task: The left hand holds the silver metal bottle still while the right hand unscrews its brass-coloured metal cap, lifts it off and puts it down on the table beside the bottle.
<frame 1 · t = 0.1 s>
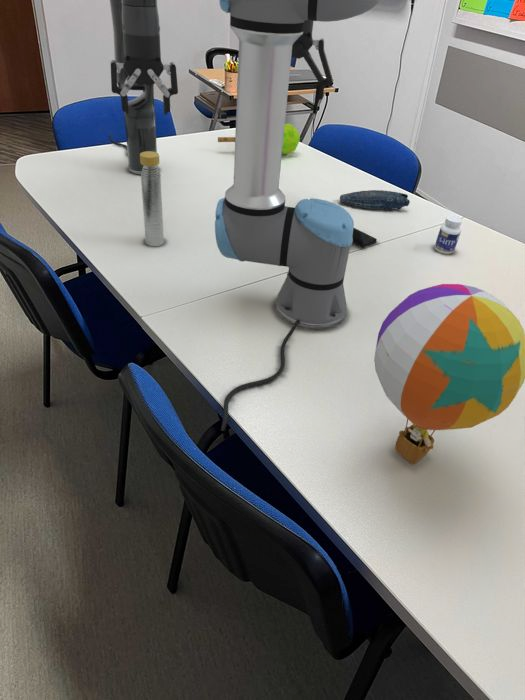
left hand: (146, 113, 118), 29 cm above the table, tool pointing down, fingers open, 8 cm apart
right hand: (288, 109, 135), 28 cm above the table, tool pointing down, fingers open, 13 cm apart
cap: (149, 155, 118), point 22 cm above the table, screwed on, not yet turned
bottle: (154, 242, 132), on the table
handheld gaming console: (350, 239, 141), on the table
decorative tree: (258, 154, 190), on the table
toy: (409, 454, 83), on the table
pill bottle: (443, 250, 140), on the table
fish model: (372, 206, 160), on the table
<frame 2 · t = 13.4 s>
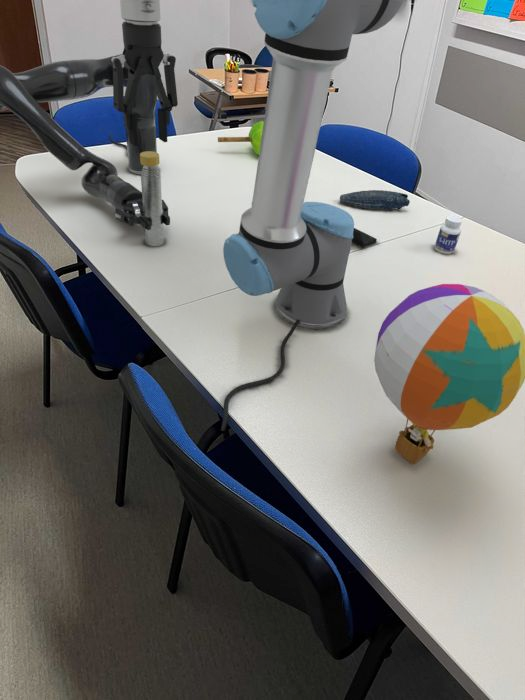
left hand: (158, 223, 126), 6 cm above the table, tool horizontal, fingers closed on bottle, 4 cm apart
right hand: (148, 142, 116), 25 cm above the table, tool pointing down, fingers open, 6 cm apart
bottle: (154, 242, 132), on the table, touching left hand
everything else where it was.
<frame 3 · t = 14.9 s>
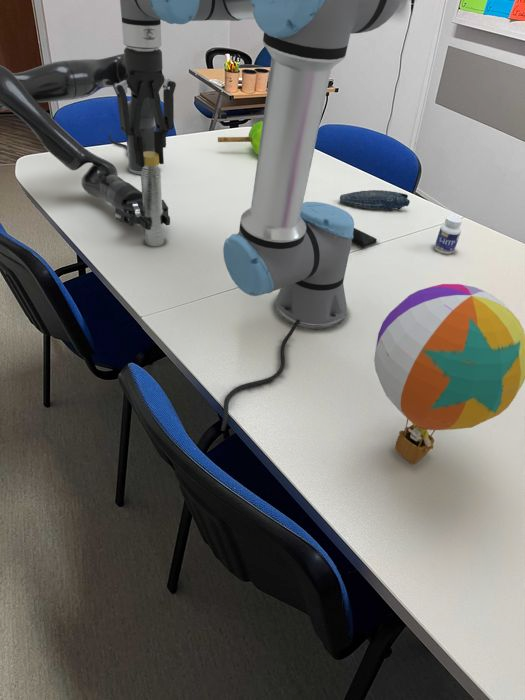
left hand: (158, 223, 126), 6 cm above the table, tool horizontal, fingers closed on bottle, 4 cm apart
right hand: (149, 163, 119), 20 cm above the table, tool pointing down, fingers closed on cap, 4 cm apart
cap: (149, 155, 118), point 22 cm above the table, screwed on, not yet turned, touching right hand
bottle: (154, 242, 132), on the table, touching left hand
everything else where it was.
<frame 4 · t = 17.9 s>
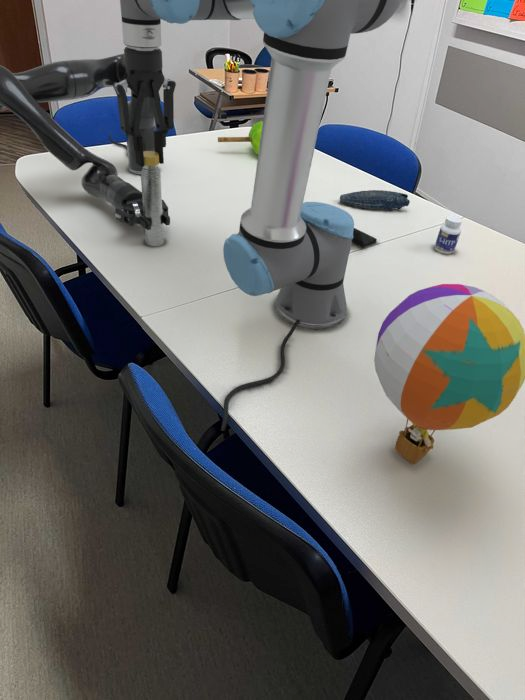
left hand: (158, 223, 126), 6 cm above the table, tool horizontal, fingers closed on bottle, 4 cm apart
right hand: (149, 163, 119), 20 cm above the table, tool pointing down, fingers closed on cap, 4 cm apart
cap: (149, 155, 118), point 22 cm above the table, turned 90° so far, risen 0.1 cm, still on its thread, touching right hand
bottle: (154, 242, 132), on the table, touching left hand
everything else where it was.
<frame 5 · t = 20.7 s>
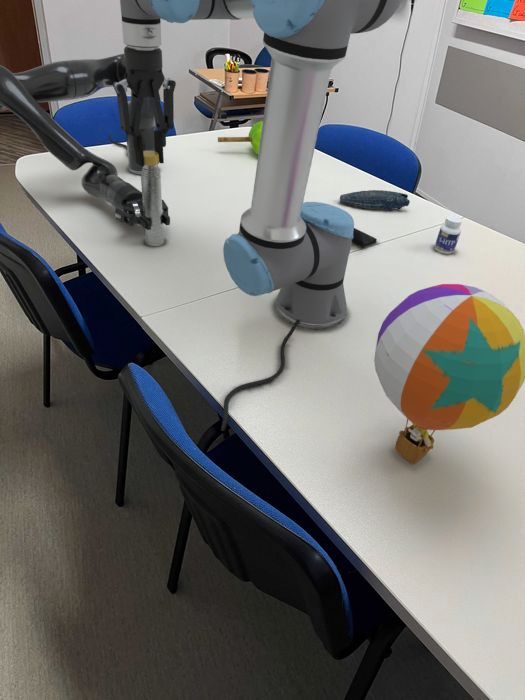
left hand: (158, 223, 126), 6 cm above the table, tool horizontal, fingers closed on bottle, 4 cm apart
right hand: (149, 162, 119), 20 cm above the table, tool pointing down, fingers closed on cap, 4 cm apart
cap: (149, 154, 118), point 22 cm above the table, turned 179° so far, risen 0.2 cm, still on its thread, touching right hand
bottle: (154, 242, 132), on the table, touching left hand
everything else where it was.
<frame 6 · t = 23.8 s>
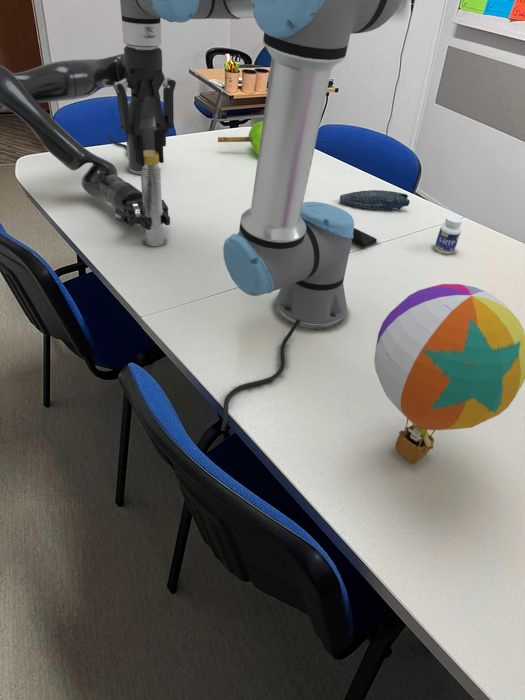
left hand: (158, 223, 126), 6 cm above the table, tool horizontal, fingers closed on bottle, 4 cm apart
right hand: (149, 162, 119), 20 cm above the table, tool pointing down, fingers closed on cap, 4 cm apart
cap: (149, 154, 118), point 22 cm above the table, turned 269° so far, risen 0.3 cm, still on its thread, touching right hand
bottle: (154, 242, 132), on the table, touching left hand
everything else where it was.
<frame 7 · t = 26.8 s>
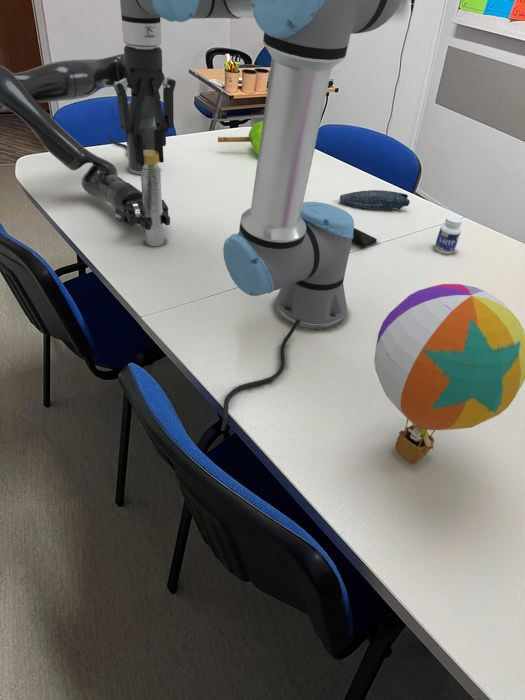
left hand: (158, 223, 126), 6 cm above the table, tool horizontal, fingers closed on bottle, 4 cm apart
right hand: (149, 161, 119), 20 cm above the table, tool pointing down, fingers closed on cap, 4 cm apart
cap: (149, 154, 118), point 22 cm above the table, turned 358° so far, risen 0.4 cm, still on its thread, touching right hand
bottle: (154, 242, 132), on the table, touching left hand
everything else where it was.
when the right hand's fingers open (2 cm above the table, at t = 33.4 s): cap drops 2 cm, point 2 cm above the table.
when the left hand's fingers open (6 cm above the table, at t = 34.6 s): bottle stays where it is, on the table.
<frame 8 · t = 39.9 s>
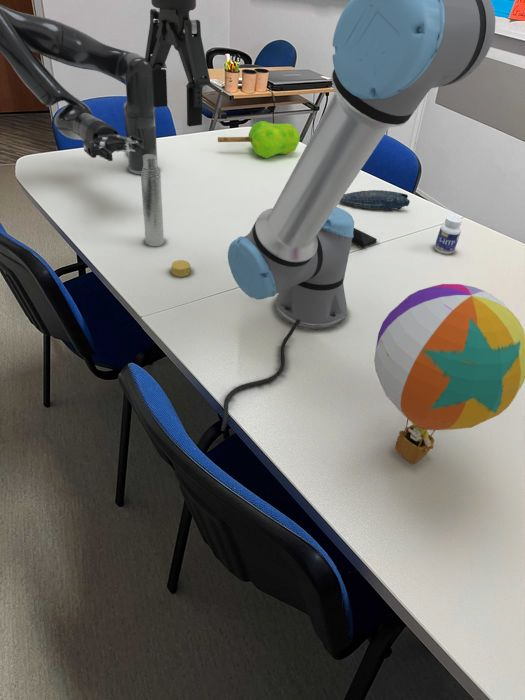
left hand: (127, 154, 127), 19 cm above the table, tool horizontal, fingers open, 8 cm apart
right hand: (176, 115, 100), 35 cm above the table, tool pointing down, fingers open, 13 cm apart
cap: (181, 265, 120), point 2 cm above the table, off its thread
bottle: (154, 242, 132), on the table
everything else where it was.
at the end: cap came off its thread; cap point 1.7 cm above the table; the left hand is holding nothing; the right hand is holding nothing; bottle tilted 0°; bottle moved 0.0 cm from its start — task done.
